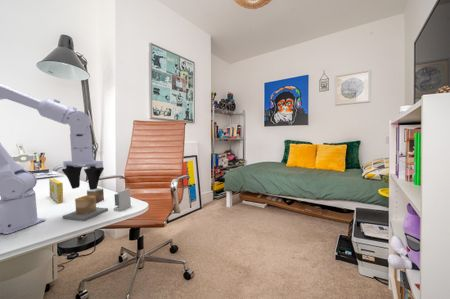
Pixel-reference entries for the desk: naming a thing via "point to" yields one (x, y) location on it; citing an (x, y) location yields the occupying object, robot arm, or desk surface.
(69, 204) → the desk surface
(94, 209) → the tan small block
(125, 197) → the wall unit
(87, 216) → the parts mat
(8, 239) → the desk surface
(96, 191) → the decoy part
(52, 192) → the candy box
